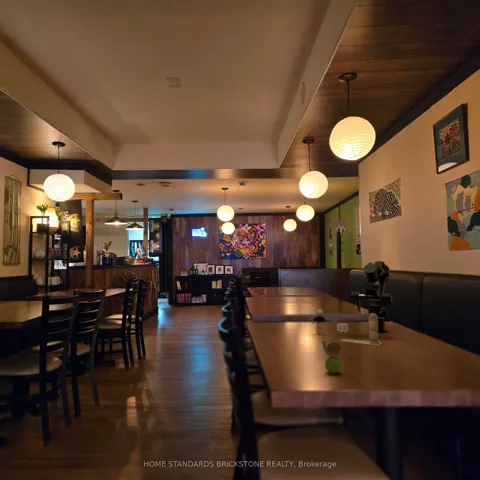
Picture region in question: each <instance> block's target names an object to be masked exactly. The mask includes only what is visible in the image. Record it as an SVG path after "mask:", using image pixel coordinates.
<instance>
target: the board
mask: <svg viewBox="0 0 480 480" xmlns="http://www.w3.org/2000/svg"><path fill="white" fill-rule="evenodd" d="M339 342H347V343H355V344H364V345H369V344H368V343H367V340H359V339H358V340H357V339H350V338H349V339H348V338H342V339H340V340H339ZM381 344H382V342H380V344H377V345H376V346H380V345H381ZM370 345H374V344H370ZM374 346H375V345H374Z"/></svg>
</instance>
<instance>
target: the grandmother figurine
mask: <svg viewBox="0 0 480 480" xmlns="http://www.w3.org/2000/svg"><path fill="white" fill-rule="evenodd" d="M315 314H316V315H317V316H315V317H314V318H313V319H312V321H311V324H312V325H314V324H315V322H316V325H315V329H316V334H315V335H316V336H320V335H321V336H326V335H327V334H326V332H325V326H327V325H329V324H328V322H327V319H326V318H325V317H324V316H323V309H317V310H316V312H315ZM324 323H325V324H324Z"/></svg>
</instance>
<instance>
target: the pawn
mask: <svg viewBox="0 0 480 480" xmlns="http://www.w3.org/2000/svg"><path fill="white" fill-rule="evenodd" d="M377 319H378V317H377V315H376V314H375V313H371V314H370V315H369V314H368V339H367V340H366V341H367V343H368V344H367V345H371V344H374V346H378V345H377V344H380V343H381V341H380V340H379V332H378V320H377ZM380 345H381V344H380Z"/></svg>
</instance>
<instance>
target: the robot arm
mask: <svg viewBox="0 0 480 480" xmlns="http://www.w3.org/2000/svg"><path fill="white" fill-rule="evenodd" d="M363 273H364V276H365V277H364V278H365V279H366V282H363V293H364V294H360V292H359V291H351V292H350V293H349V297H350V300H351V302H352V303H353V304H355V305H356V307H357V311H358V313H360V312H361V300H370V305H369V307H368V311H367V312H368V316H369V315H370V314H371V313H375V314H376V315H377V317H378V319H377V320H378V333H385V332H388V330H386V327H385V324H386V323H385V322H386V321H389V314H388V311H387V308H386V307H387V306H390V305H392V304H393V296H392V293H390V292H385V287H386V283H387V282H389V279H390V276H391V272H390V266H388V265H387V264H386V262H385V261H383V260H382V261H380V260H379V261H378V260H376V261H374V262H368V263H367V264H365V265H364V267H363Z"/></svg>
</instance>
